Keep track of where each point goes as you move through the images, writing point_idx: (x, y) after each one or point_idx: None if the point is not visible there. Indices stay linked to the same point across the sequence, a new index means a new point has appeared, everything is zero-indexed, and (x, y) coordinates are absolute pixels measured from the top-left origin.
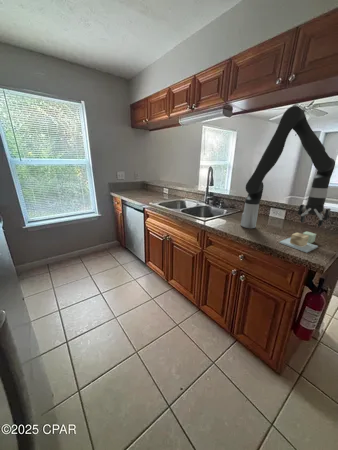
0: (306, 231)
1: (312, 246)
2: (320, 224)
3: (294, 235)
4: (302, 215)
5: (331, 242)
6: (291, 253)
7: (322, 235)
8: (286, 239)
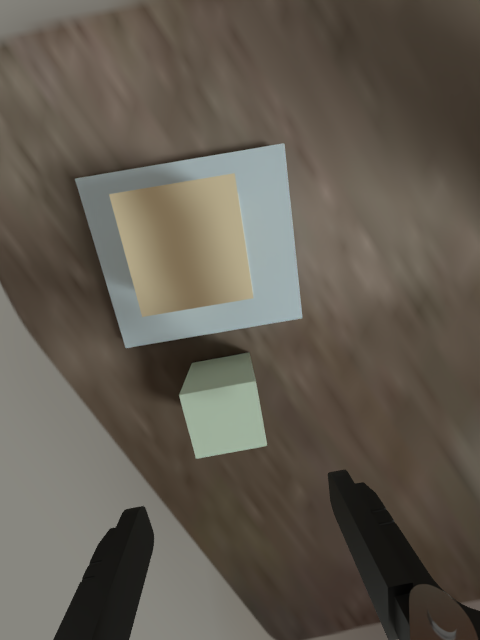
0: (266, 441)
1: (127, 302)
2: (106, 549)
3: (205, 180)
4: (428, 616)
5: (166, 493)
6: (109, 51)
7: (254, 543)
8: (288, 242)
